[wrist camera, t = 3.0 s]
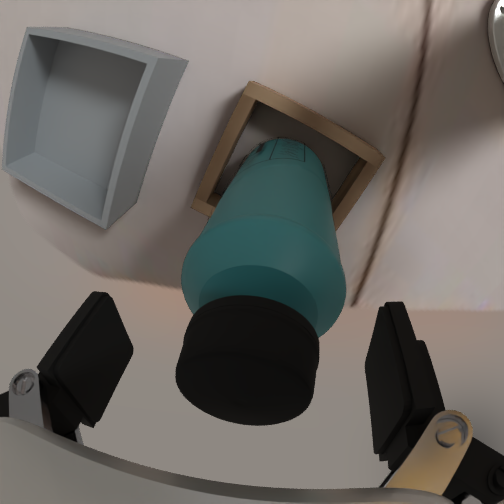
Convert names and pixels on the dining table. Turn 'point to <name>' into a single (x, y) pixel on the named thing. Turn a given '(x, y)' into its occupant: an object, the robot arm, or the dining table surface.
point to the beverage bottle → (262, 290)
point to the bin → (86, 118)
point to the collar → (257, 92)
